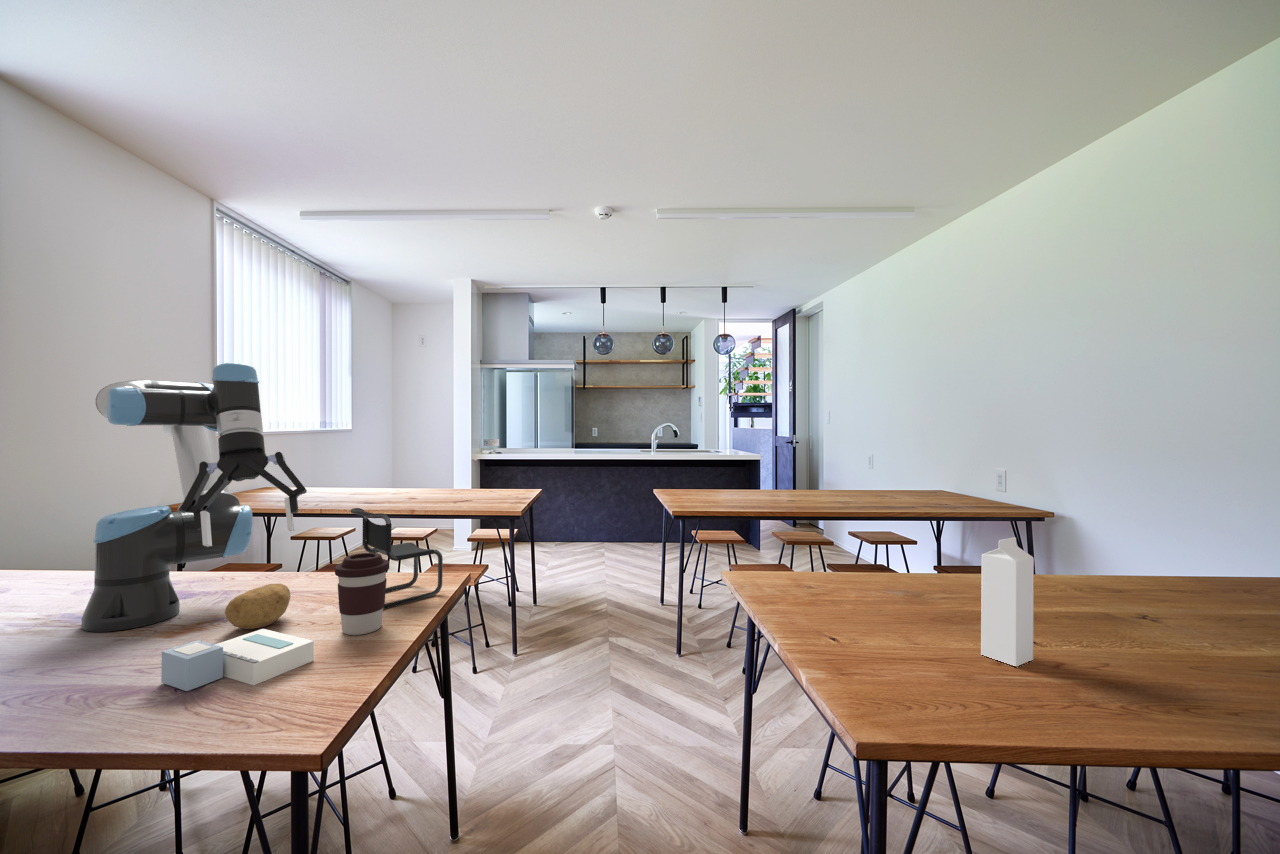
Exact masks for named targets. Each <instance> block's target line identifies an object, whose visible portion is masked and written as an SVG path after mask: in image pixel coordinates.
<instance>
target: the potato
mask: <svg viewBox="0 0 1280 854" xmlns="http://www.w3.org/2000/svg"><path fill="white" fill-rule="evenodd" d="M290 601H291V592H290V589H289V587H288V586H287V585H285V584H284V583H269V584H266V585H262V586H258V587H256V588H253V589H252V588H251V589H250V590H247V591H245V592H242V593H241V594H238V595H237V596H235V597H234V598H233V599H231V600H230V601H229V602H228V604H227V605H226V607H225V610H224V614H225V618H226V620H227V622H228V623H230V624H231V625H232V626H234V627H235V628H240V629H245V630H246V629H247V630H248V629H262V628H264V627H267V626H269V625H271V624H273V623H274V622H276V621H277V620H278V619H280V618H281V617H282V616H283V615H284V614H285V613H286V611H287V609H288V606H289V604H290Z"/></svg>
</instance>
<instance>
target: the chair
mask: <svg viewBox="0 0 1280 854" xmlns="http://www.w3.org/2000/svg"><path fill="white" fill-rule="evenodd" d="M350 514H354V515H356V516H362V543H361V544H362V547H363V550H365V551H366V553H378V554H381V555H385V556H386V557H387V558H388V559H389V560H390V561H394V562H395V561H397V562H399V561H404V560H409V559H413V577H412V579H411V580H410V581H409V582H406V583H403V584H398V585H394V586H388V587H386V593H388V592H387V591H390V592H393V591H392V590H394V591H397V590H396V589H398V590H402V589H401V588H403V589H406V587H407V588H409V587H412V586H413V585H414V584H416V581H418V578H419V558H420V557H424V556H430V555H436V557H437V586H436V588H435V590H433V591H430V592H426V593H423V594H419V595H415V596H411V597H410V596H409V597H407V598H403V599H398V600H395V601H391V602H387V603H386V602H385V605H384V607H383V608H386V609H389V608H388V607H390V608H392V606H393V607H396V605H397V606H400V604H401V605H404V604H408V603H412V602H416V601H420V600H424V599H427V598H428V599H429V598H432V597H434V596H436V595H437V594H439V593H440V592H441V589H442V588H443V575H444V574H443V569H444V567H443V563H444V562H443V561H444V559H443V555H442V553H441V551H440V550H438V549H433V548H432V549H431V548H430V549H427V548H422V547H418V546H417V545H416V544H415V543H413V542H404V543H398V544H392V525H393V524H392V522H391V521H392V520H391V519H390V516H388V515H387V514H386V513H378V512H377V513H375V512H374V513H373V512H369V511H365V510H364V509H362V508H360V507H359V508H358V507H356V508H355V507H354V508H351V509H350ZM369 518H371V519H383V520H384V522H385V524H377V523H374V522H372V521H371V520H370V519H369ZM371 547H372V548H371Z"/></svg>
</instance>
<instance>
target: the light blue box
mask: <svg viewBox="0 0 1280 854" xmlns="http://www.w3.org/2000/svg"><path fill="white" fill-rule="evenodd" d="M160 674H161V679H160V680H161V683H162V684H165V685H167V686H170V687H174V688H176V689H178V690H179V689H180V690H182V691H185V692H189V691H192V690H194V689H196V688H199V687H202V686H204V685H208V684H210V683H212V682H215V681H217V680H220V679H223V678H224V676H223V647H221V646H217V645H215V644H214V643H210V642H206V641H202V640H199V639H197V640H194V641H191V642H188V643H187V642H186V643H184V644H181V645H178V646H174V647H171V648H168V649H165V650H162V651H161V673H160Z"/></svg>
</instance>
